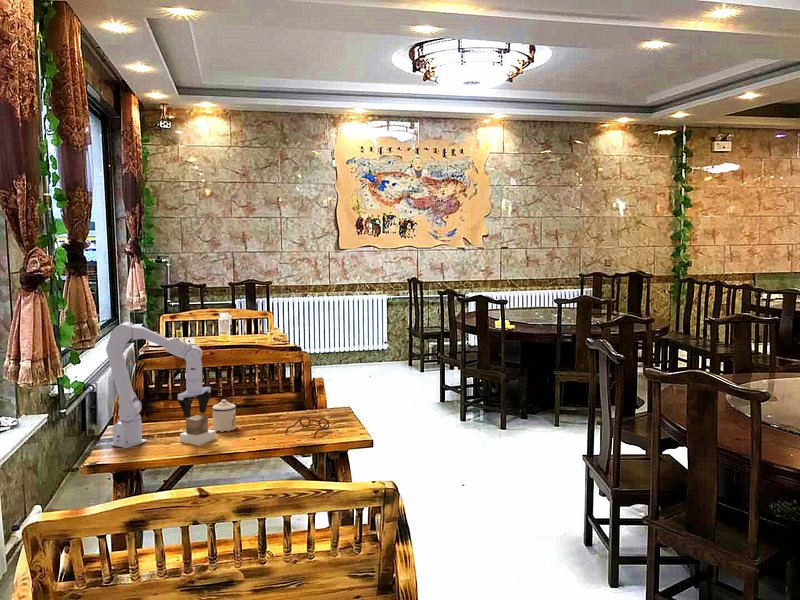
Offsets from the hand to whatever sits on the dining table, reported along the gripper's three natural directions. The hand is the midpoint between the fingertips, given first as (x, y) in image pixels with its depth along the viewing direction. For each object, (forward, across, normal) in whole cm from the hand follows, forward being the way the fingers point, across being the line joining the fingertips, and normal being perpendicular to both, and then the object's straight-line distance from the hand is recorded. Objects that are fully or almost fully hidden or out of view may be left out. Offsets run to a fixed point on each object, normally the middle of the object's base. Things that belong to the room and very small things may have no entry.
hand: (195, 415), depth 244 cm
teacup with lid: (+10, +17, +2) cm, 20 cm away
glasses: (+10, +28, -30) cm, 43 cm away
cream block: (+10, 0, -1) cm, 10 cm away
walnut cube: (+6, 0, -1) cm, 6 cm away
